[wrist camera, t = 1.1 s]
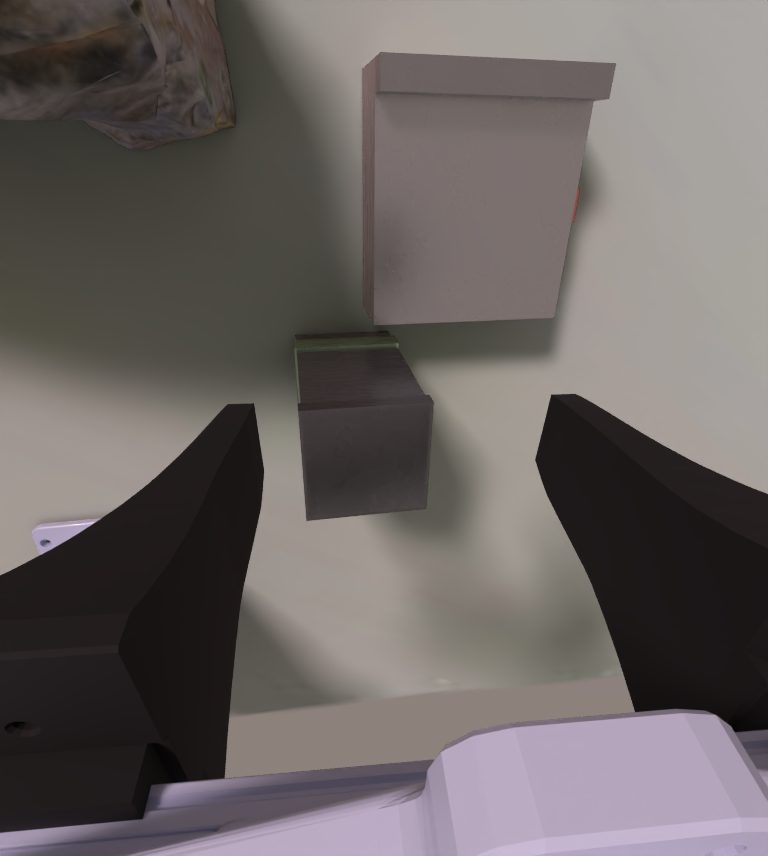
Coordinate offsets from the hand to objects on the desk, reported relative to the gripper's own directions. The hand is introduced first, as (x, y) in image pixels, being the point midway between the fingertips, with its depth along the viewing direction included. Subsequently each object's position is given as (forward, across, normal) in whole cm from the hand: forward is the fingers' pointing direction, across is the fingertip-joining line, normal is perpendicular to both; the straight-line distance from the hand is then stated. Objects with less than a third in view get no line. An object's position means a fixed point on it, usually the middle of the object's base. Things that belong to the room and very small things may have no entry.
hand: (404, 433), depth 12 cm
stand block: (+13, -4, -3) cm, 14 cm away
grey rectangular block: (+12, +1, +5) cm, 13 cm away
